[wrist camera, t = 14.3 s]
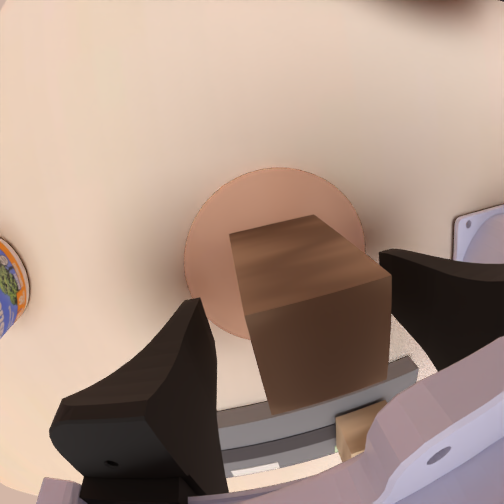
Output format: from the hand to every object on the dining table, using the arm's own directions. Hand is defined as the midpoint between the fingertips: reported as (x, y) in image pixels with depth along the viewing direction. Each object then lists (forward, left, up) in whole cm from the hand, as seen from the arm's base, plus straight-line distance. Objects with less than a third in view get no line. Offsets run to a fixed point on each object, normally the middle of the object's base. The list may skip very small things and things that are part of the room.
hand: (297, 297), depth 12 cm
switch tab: (-4, +13, -2) cm, 14 cm away
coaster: (0, 0, -4) cm, 4 cm away
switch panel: (+1, +13, -4) cm, 14 cm away
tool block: (0, 0, -3) cm, 3 cm away
